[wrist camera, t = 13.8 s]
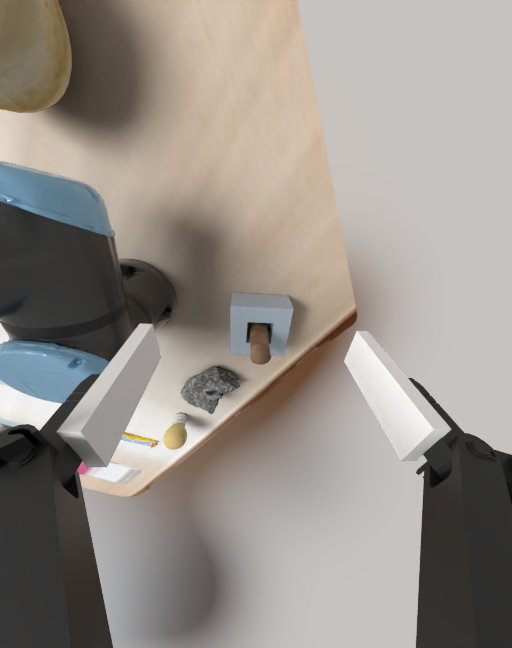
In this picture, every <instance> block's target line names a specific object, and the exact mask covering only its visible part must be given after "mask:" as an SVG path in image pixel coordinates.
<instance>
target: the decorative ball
mask: <svg viewBox="0 0 512 648" xmlns="http://www.w3.org/2000/svg"><path fill="white" fill-rule="evenodd" d="M71 69H72V53H71V45H70V40H69V34H68V30H67V27H66V23H65V20H64V17H63V14H62V11H61V8H60V5H59V2H58V0H0V109H3V110H8V111H13V112H18V113H34V112H37V111H41V110H44V109H47V108H49V107H50V106H52V105H54V104H55V103H57V102H58V101H59V100H60V98H61V97H62V96H63V95H64V93H65V91H66V89H67V87H68V84H69V80H70V74H71Z"/></svg>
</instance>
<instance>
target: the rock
mask: <svg viewBox="0 0 512 648" xmlns="http://www.w3.org/2000/svg"><path fill="white" fill-rule="evenodd" d="M240 383H241V381H240V379H238V378H236V377H235V376H234V374H233V373H232V372H229V371H226V370H224V369H219V368H217V367H212V368H209V369H207V370H205V371H203V372H202V373H201V374H199V375H196V376H194V377H192V378H190V379H188V381H187V382H186V383H185V386H184V387H183V389H181V395H182V397H183V398H184V399H185V400H186V401H187V402H188V403H189V404H191V405H194V406H195V407H200V408H202V409H204V410H206V411H208V413H210V414H212V413H213V412H214V410H215V408H216V406H217V405H218V400H219V399H221V398H222V396H223V394H225V393H227V392H228V391H234V390H235V389H237V388H238V387H239V386H240Z"/></svg>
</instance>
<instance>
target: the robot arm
mask: <svg viewBox="0 0 512 648" xmlns="http://www.w3.org/2000/svg"><path fill="white" fill-rule="evenodd" d="M114 236H115V233H114V231H113V230H112V228H111V225H110V221H109V218H108V214H107V210H106V206H105V203H104V201H103V199H102V197H101V196H100V194H99V193H98V192H97V191H96V190H95V189H93V188H92V187H91V186H89V185H87V184H85V183H83V182H81V181H77V180H74V179H71V178H67V177H63V176H59V175H56V174H52V173H48V172H44V171H40V170H36V169H32V168H28V167H24V166H20V165H16V164H12V163H8V162H4V161H0V323H1V324H2V326H3V328H4V329H5V331H6V332H7V334H8V336H9V341H8V342H4V343H2V344H0V380H1V381H2V382H4V383H5V384H7V385H8V386H10V387H12V388H14V389H16V390H18V391H20V392H22V393H25V394H27V395H30V396H33V397H36V398H39V399H43V400H47V401H51V402H57V403H63V404H62V405H61V406H60V407H59V408H58V410H57V411H56V412H55V413H54V414H53V416H52V417H51V418H50V419H49V420H48V421H47V423H46V424H45V425H44V426H43V427H42V429H41V430H40V431H38V430H37V429H36V428H35V427H34V426H32V425H29V424H26V425H18V426H15V427H12V428H10V429H7V430H5V431H4V432H2V433H0V648H113V645H112V640H111V635H110V631H109V625H108V620H107V614H106V609H105V605H104V600H103V594H102V589H101V584H100V579H99V574H98V569H97V564H96V559H95V553H94V549H93V543H92V538H91V533H90V528H89V523H88V519H87V513H86V508H85V502H84V497H83V492H82V487H81V482H80V477H79V473H78V472H77V469H78V467H79V466H80V464H81V462H82V461H83V462H84V464H85V465H86V466H87V467H107V466H108V464H109V462H110V460H111V458H112V456H113V454H114V452H115V450H116V448H117V446H118V444H119V442H120V440H121V438H122V436H123V434H124V431H125V429H126V427H127V425H128V423H129V421H130V419H131V417H132V415H133V413H134V411H135V409H136V407H137V405H138V403H139V401H140V399H141V397H142V395H143V393H144V391H145V389H146V387H147V385H148V383H149V381H150V379H151V377H152V375H153V373H154V371H155V368H156V366H157V364H158V362H159V360H160V358H161V355H160V351H159V347H158V343H157V339H156V335H155V331H156V330H158V329H159V328H161V327H163V326H164V325H165V324H166V323H167V322H168V321H169V320H170V318H171V317H172V315H173V313H174V311H175V308H176V296H175V292H174V290H173V287H172V286H171V284H170V282H169V281H168V280H167V278H166V277H165V276H164V275H163V274H162V273H161V272H159V271H158V270H157V269H155V268H154V267H152V266H150V265H148V264H146V263H144V262H141V261H138V260H133V259H119V260H118V255H117V250H116V245H115V240H114ZM344 362H345V364H346V365H347V367H348V369H349V371H350V373H351V374H352V376H353V377H354V380H355V381H356V383H357V385H358V387H359V388H360V390H361V392H362V393H363V395H364V397H365V399H366V401H367V402H368V404H369V406H370V407H371V409H372V411H373V413H374V415H375V416H376V418H377V420H378V422H379V423H380V425H381V426H382V428H383V430H384V432H385V434H386V436H387V437H388V439H389V441H390V443H391V444H392V446H393V448H394V450H395V451H396V453H397V455H398V457H399V458H400V460H401V461H417V460H418V458H420V457H421V456H422V455H424V456H425V457H426V459H427V462H426V463H425V464H424V465H422V466H421V467H420V468H419V469H418V470H417V472H416V473H417V474H418V475H419V474H421V473H422V472H423V471H424V477H423V478H424V489H423V510H422V531H421V553H420V573H419V594H418V616H417V637H416V638H417V639H416V648H512V455H510V454H507V453H503V452H500V451H497V450H493V448H492V447H490V446H489V445H488V444H487V443H486V442H484V441H483V440H481V439H480V438H478V437H476V436H474V435H471V434H467V433H464V432H463V431H462V430H461V429H460V428H459V427H458V426H457V424H456V423H455V422H454V421H453V420H452V419H451V418H450V416H449V415H448V414H447V413H446V412H445V411H444V410H443V409H442V408H441V406H440V405H439V404H438V403H436V401H435V400H434V399H433V397H432V396H430V394H429V393H428V392H427V391H426V390H425V389H424V387H423V386H422V385H420V384H419V383H418V382H416V381H415V380H414V379H412V378H407V376H406V375H405V374H404V373H403V372H402V371H401V369H399V367H398V366H397V365H396V364H395V362H394V361H393V360H392V359H391V358H390V357H389V356H388V354H387V353H386V352H385V351H384V350H383V348H382V347H381V346H380V345H379V344H378V343H377V341H376V340H375V339H374V338H373V337H372V336H371V334H370V333H369V332H368V331H357V332H356V334H355V336H354V339H353V341H352V343H351V346H350V348H349V350H348V353H347V355H346V357H345V360H344Z"/></svg>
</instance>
